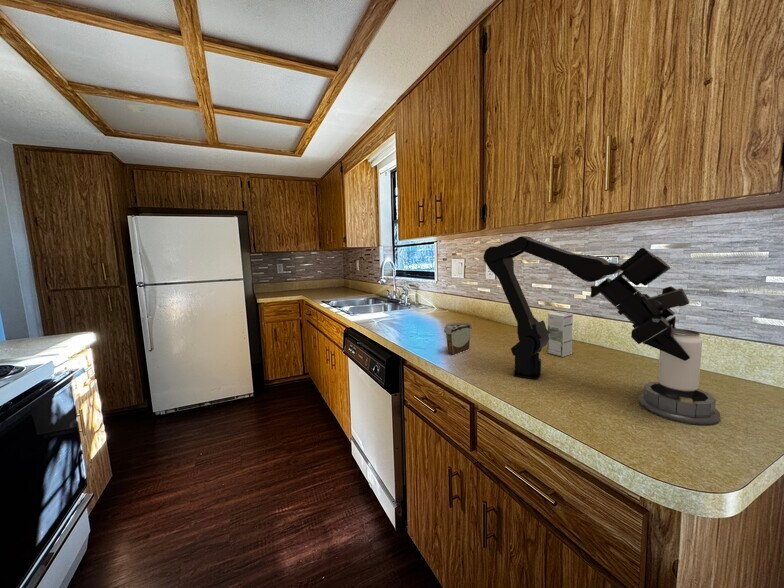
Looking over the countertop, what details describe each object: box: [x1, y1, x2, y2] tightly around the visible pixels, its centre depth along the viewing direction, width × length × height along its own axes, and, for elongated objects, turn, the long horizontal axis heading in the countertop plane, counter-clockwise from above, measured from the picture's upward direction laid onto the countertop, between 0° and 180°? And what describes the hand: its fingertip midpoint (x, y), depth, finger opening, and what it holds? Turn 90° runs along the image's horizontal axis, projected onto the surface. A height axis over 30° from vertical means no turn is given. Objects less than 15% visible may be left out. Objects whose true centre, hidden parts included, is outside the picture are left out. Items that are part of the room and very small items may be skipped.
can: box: [657, 328, 703, 392], centre depth 66 cm, size 6×6×12 cm
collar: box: [638, 381, 721, 426], centre depth 67 cm, size 13×13×5 cm
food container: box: [443, 322, 473, 356], centre depth 115 cm, size 12×6×10 cm, turn 130°
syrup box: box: [546, 310, 574, 358], centre depth 107 cm, size 6×6×14 cm
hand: (688, 355), depth 65 cm, fingers closed on can, 6 cm apart
